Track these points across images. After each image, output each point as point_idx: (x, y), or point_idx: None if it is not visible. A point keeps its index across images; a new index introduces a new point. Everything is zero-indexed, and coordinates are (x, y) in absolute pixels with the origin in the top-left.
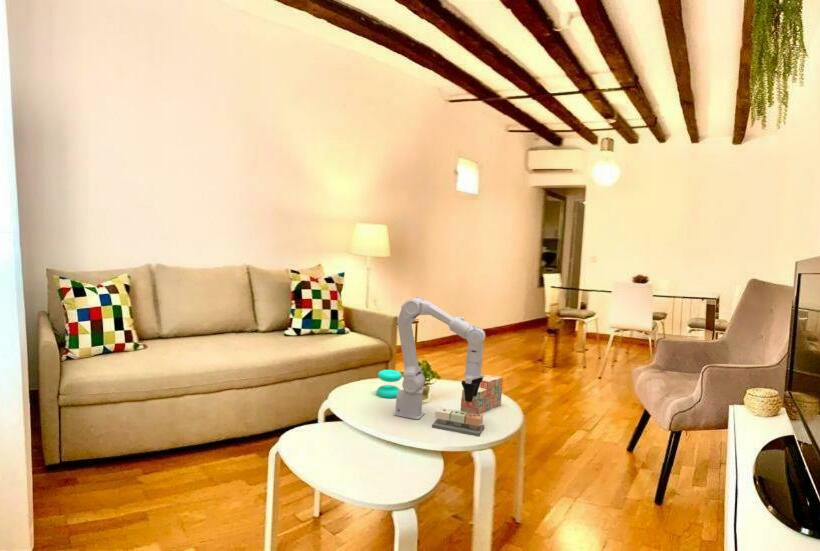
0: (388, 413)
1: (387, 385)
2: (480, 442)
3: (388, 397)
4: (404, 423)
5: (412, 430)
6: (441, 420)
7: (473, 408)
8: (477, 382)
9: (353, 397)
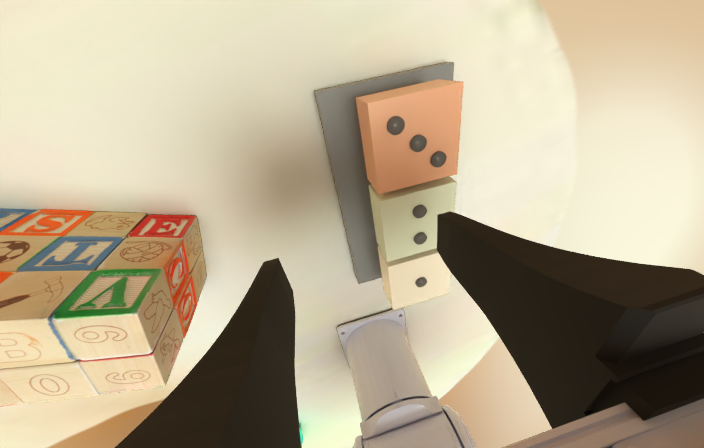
0: None
1: None
2: (519, 19)
3: None
4: (446, 308)
5: None
6: None
7: (183, 242)
8: (262, 398)
9: (349, 435)
